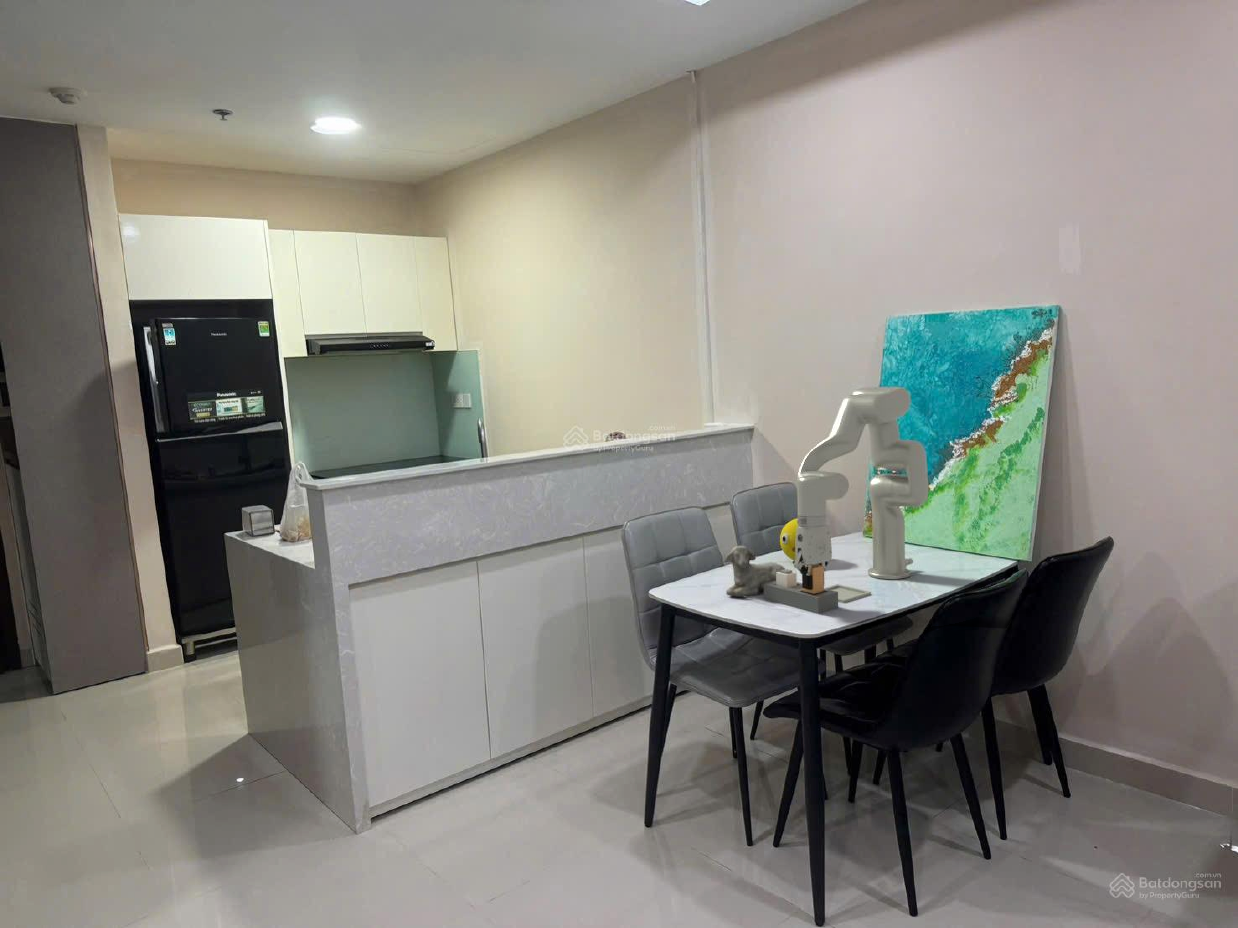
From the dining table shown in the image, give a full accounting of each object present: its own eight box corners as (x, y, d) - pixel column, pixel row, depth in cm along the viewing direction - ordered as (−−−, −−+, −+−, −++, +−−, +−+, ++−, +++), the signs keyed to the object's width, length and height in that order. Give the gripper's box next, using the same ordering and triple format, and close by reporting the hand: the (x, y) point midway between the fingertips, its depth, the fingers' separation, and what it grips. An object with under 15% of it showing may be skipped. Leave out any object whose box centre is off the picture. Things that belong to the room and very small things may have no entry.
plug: (824, 590, 223) (823, 563, 222) (814, 593, 221) (813, 566, 220) (812, 588, 226) (812, 561, 225) (802, 591, 224) (802, 563, 223)
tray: (837, 588, 243) (837, 584, 243) (871, 596, 233) (871, 591, 233) (810, 596, 236) (810, 592, 236) (843, 605, 226) (843, 600, 226)
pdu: (783, 595, 239) (782, 564, 238) (838, 609, 222) (837, 577, 221) (764, 601, 234) (763, 569, 233) (818, 616, 218) (817, 582, 217)
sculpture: (721, 596, 242) (719, 546, 240) (772, 582, 254) (770, 535, 252) (746, 603, 233) (745, 552, 231) (798, 589, 245) (797, 540, 243)
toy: (777, 567, 271) (775, 523, 269) (783, 556, 286) (782, 513, 285) (823, 569, 266) (822, 523, 264) (827, 557, 282) (826, 514, 280)
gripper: (801, 527, 213) (802, 595, 215) (843, 518, 223) (844, 584, 225) (780, 523, 220) (781, 590, 222) (822, 515, 229) (823, 579, 231)
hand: (813, 586), depth 223 cm, fingers closed on plug, 4 cm apart
